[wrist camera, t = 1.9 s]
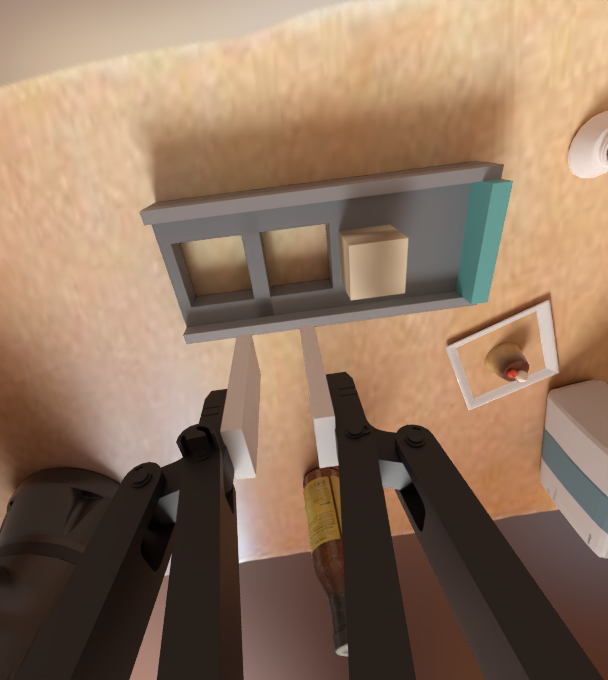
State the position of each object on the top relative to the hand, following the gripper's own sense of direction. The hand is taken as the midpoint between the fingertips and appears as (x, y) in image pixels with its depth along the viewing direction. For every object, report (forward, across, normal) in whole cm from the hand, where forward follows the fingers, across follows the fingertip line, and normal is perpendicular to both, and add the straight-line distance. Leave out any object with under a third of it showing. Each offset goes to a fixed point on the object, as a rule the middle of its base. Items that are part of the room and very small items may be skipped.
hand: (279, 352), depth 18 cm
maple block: (+14, +8, 0) cm, 16 cm away
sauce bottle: (+17, +2, -35) cm, 39 cm away
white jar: (+17, +29, +6) cm, 34 cm away
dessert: (+17, +26, -16) cm, 35 cm away
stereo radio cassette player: (+17, +38, -32) cm, 52 cm away
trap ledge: (+17, +4, 0) cm, 17 cm away
